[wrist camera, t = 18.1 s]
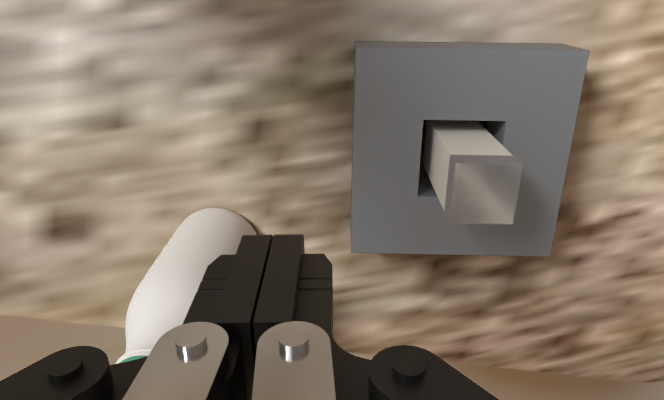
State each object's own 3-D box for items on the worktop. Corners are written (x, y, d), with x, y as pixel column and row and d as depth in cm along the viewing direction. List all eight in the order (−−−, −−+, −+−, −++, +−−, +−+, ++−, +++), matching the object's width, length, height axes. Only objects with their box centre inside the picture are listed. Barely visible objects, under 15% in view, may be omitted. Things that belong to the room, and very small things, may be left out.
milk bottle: (195, 190, 45) (93, 328, 27) (275, 228, 47) (228, 384, 28) (165, 258, 48) (52, 426, 29) (240, 292, 49) (177, 474, 31)
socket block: (355, 41, 40) (356, 47, 36) (561, 43, 40) (589, 50, 35) (350, 226, 46) (351, 252, 42) (529, 229, 46) (550, 256, 41)
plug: (426, 117, 42) (455, 162, 31) (475, 118, 42) (522, 163, 31) (422, 164, 44) (448, 223, 33) (470, 165, 44) (513, 224, 33)
